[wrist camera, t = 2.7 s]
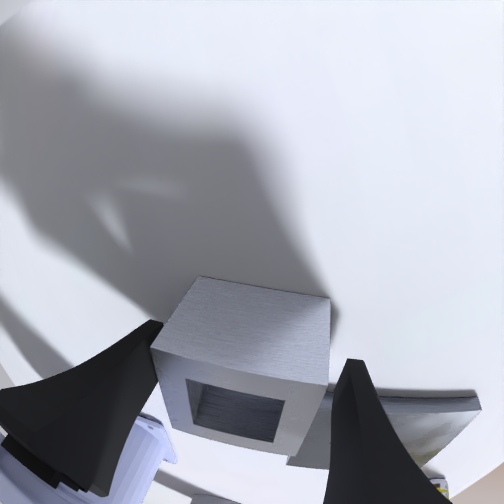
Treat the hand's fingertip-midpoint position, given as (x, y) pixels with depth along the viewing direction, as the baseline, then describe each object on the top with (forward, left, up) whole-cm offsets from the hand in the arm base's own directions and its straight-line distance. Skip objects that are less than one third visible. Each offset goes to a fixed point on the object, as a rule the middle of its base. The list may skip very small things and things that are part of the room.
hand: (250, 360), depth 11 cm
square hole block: (0, 0, -1) cm, 1 cm away
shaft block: (+8, -7, -1) cm, 11 cm away
